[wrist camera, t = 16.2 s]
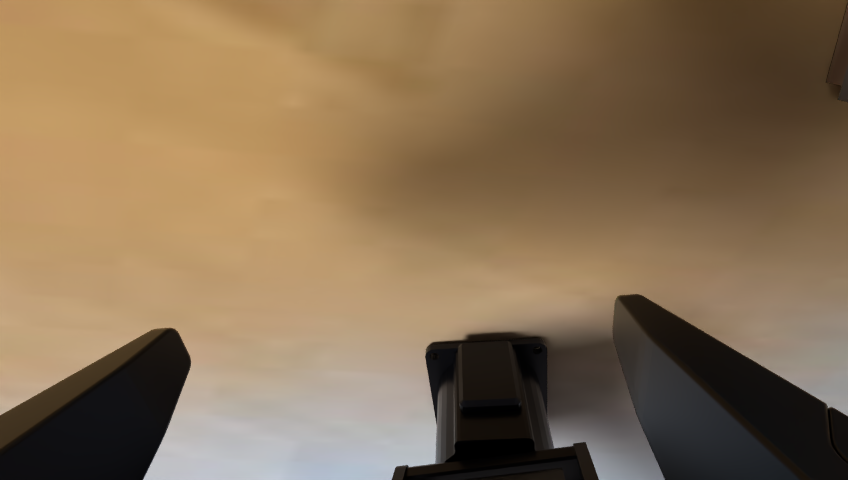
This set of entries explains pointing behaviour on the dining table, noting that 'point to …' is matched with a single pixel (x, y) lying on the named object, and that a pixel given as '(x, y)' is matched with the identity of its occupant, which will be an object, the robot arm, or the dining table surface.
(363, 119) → the dining table surface
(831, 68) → the base
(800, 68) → the dining table surface
